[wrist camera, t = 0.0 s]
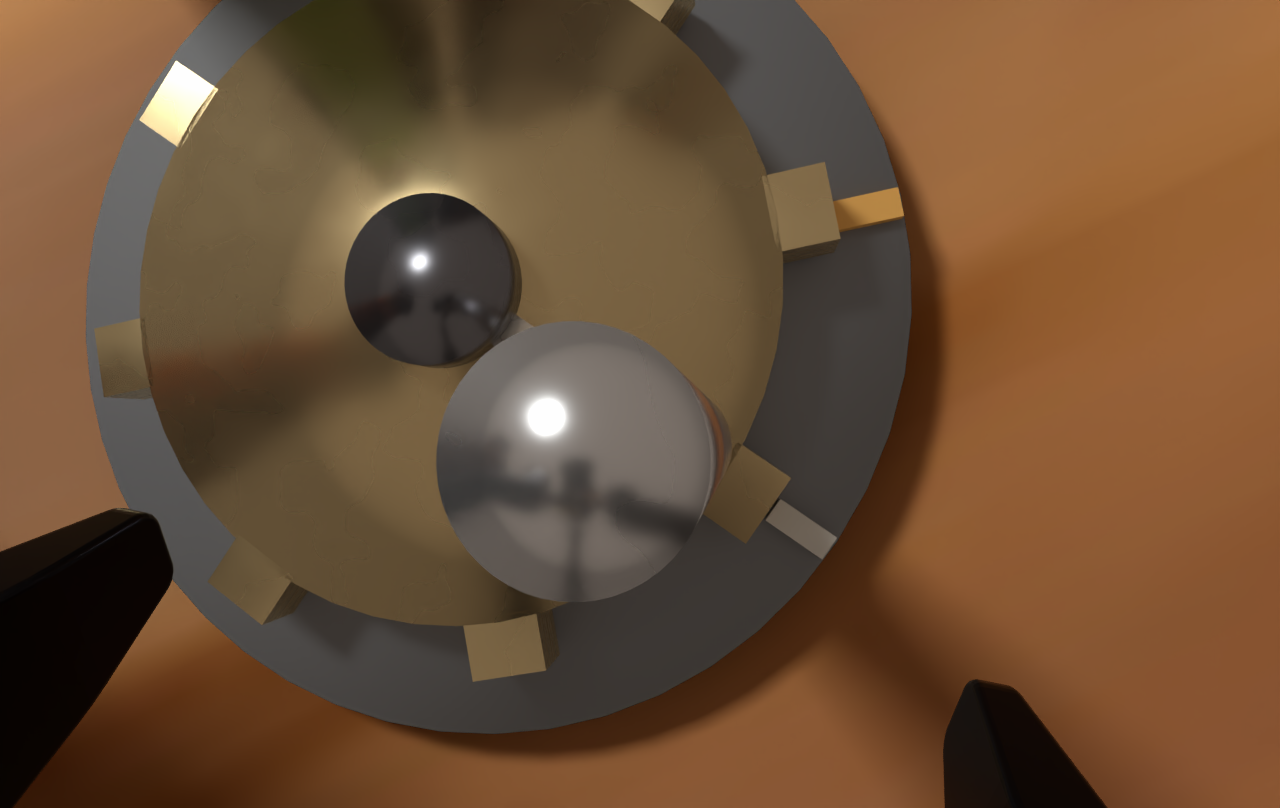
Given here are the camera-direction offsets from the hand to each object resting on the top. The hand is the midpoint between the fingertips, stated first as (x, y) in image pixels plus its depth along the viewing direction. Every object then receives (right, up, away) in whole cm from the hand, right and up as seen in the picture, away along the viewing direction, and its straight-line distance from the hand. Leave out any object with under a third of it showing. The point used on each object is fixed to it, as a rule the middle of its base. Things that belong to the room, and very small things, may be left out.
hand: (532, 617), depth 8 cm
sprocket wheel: (-4, +5, +14) cm, 15 cm away
